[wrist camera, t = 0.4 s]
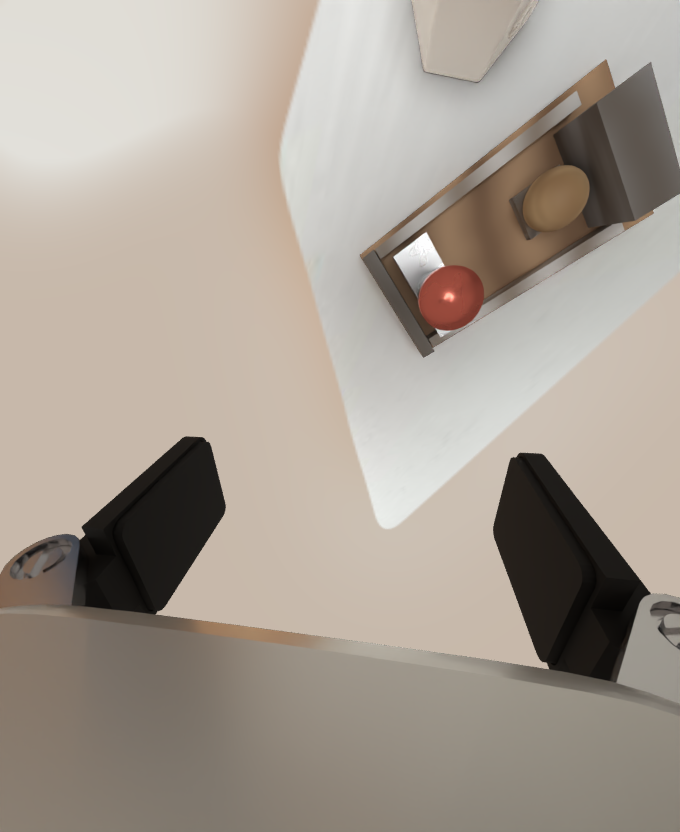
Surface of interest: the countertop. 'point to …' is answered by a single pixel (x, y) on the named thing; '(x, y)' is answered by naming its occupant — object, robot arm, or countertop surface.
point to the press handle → (440, 286)
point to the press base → (512, 177)
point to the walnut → (556, 198)
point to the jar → (467, 33)
